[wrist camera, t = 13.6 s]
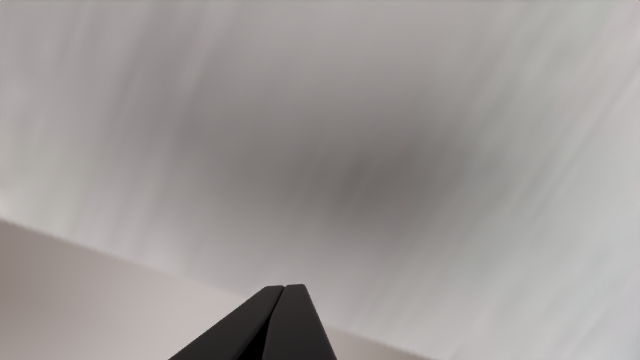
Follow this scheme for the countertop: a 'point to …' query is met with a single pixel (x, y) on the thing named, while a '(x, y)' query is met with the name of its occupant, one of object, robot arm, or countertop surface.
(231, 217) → the countertop surface
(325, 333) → the robot arm
